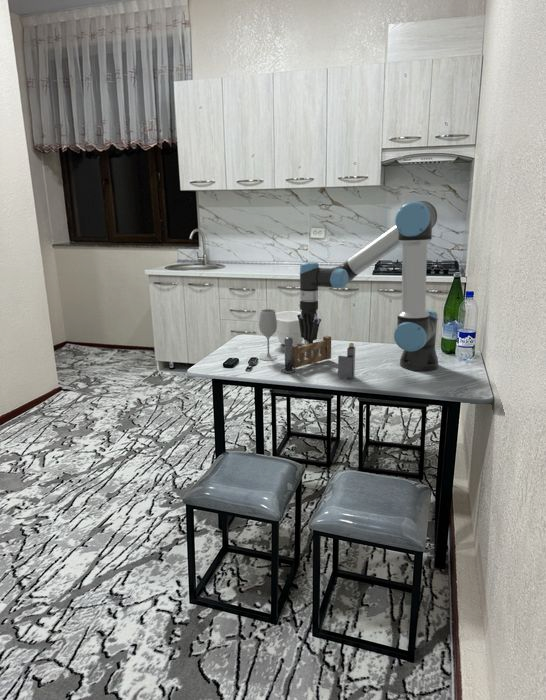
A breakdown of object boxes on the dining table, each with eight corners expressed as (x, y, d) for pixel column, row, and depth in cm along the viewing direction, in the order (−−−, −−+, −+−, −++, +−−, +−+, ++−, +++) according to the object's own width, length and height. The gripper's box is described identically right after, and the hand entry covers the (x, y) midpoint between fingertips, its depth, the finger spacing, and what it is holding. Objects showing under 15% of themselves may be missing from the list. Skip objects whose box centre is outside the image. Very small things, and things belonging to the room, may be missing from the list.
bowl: (291, 337, 259) (291, 309, 255) (319, 345, 245) (319, 316, 241) (262, 344, 248) (261, 315, 244) (289, 352, 234) (289, 322, 230)
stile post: (354, 376, 201) (355, 342, 197) (351, 380, 196) (352, 345, 193) (340, 375, 202) (341, 341, 199) (337, 379, 198) (338, 344, 195)
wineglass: (275, 361, 221) (274, 312, 215) (257, 360, 223) (256, 312, 217) (278, 356, 228) (278, 309, 222) (261, 355, 230) (260, 308, 224)
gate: (294, 368, 208) (294, 345, 206) (290, 367, 210) (290, 344, 208) (330, 358, 221) (331, 336, 218) (326, 357, 223) (327, 335, 220)
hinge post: (298, 369, 210) (298, 336, 206) (293, 374, 204) (293, 339, 201) (284, 368, 212) (283, 334, 208) (279, 372, 206) (278, 338, 203)
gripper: (292, 299, 218) (292, 353, 224) (312, 303, 208) (311, 360, 214) (306, 296, 222) (305, 350, 229) (326, 301, 212) (325, 357, 218)
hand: (308, 355), depth 221 cm, fingers closed
